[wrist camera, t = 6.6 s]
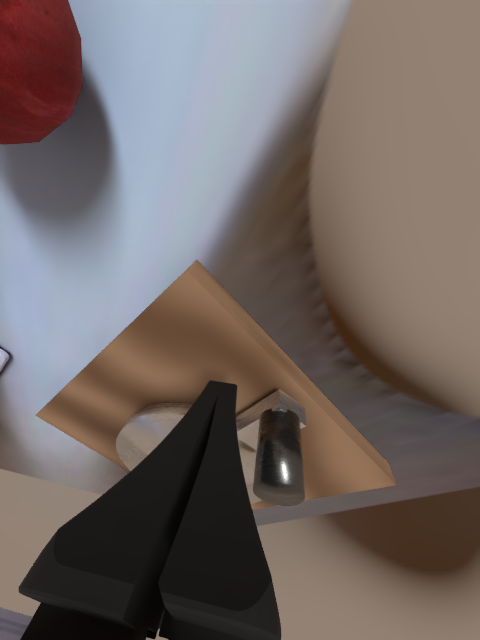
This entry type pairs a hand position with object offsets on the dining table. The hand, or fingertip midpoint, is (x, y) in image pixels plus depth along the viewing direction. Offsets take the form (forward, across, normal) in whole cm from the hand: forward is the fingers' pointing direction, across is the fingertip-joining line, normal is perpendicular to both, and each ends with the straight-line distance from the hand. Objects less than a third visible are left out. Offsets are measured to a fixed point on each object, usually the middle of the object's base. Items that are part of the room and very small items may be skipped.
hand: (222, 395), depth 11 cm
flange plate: (+2, +1, +8) cm, 8 cm away
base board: (+4, +2, +9) cm, 10 cm away
